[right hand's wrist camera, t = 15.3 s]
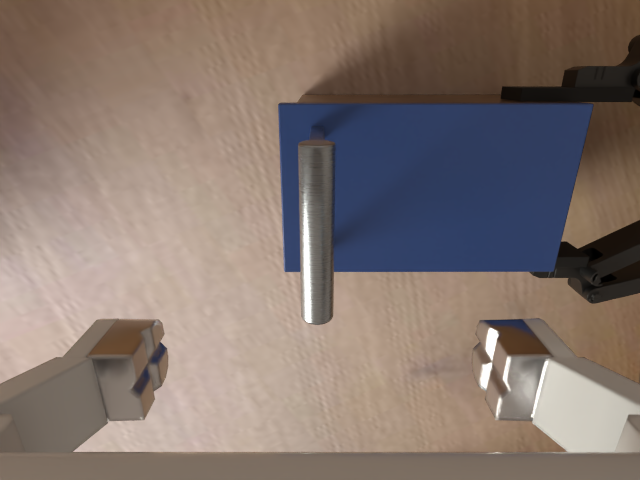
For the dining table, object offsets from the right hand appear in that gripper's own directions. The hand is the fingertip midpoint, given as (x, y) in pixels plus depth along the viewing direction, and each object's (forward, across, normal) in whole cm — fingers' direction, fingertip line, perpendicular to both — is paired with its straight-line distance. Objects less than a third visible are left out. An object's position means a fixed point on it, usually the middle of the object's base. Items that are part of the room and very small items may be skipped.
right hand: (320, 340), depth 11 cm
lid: (+15, +6, 0) cm, 16 cm away
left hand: (+18, +12, 0) cm, 21 cm away
